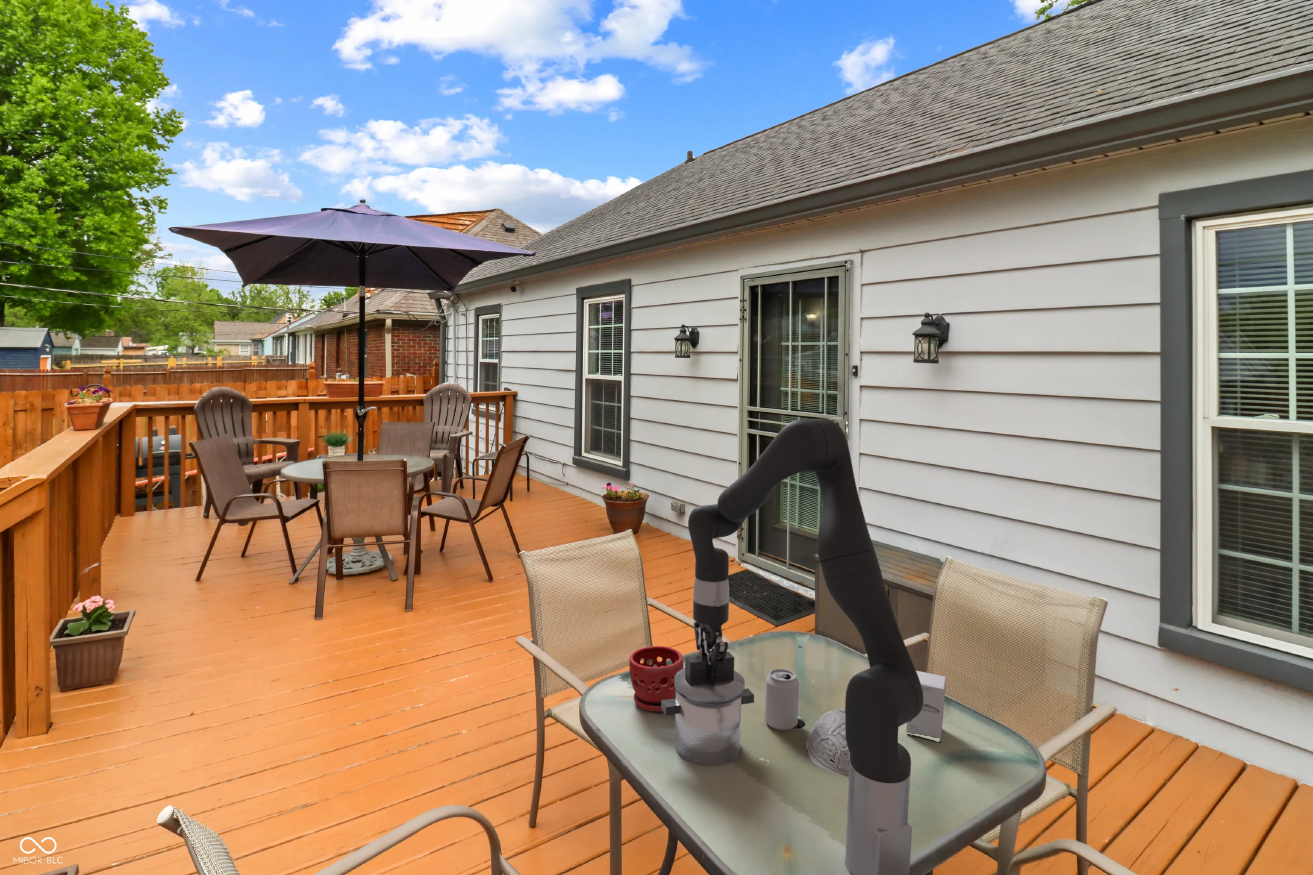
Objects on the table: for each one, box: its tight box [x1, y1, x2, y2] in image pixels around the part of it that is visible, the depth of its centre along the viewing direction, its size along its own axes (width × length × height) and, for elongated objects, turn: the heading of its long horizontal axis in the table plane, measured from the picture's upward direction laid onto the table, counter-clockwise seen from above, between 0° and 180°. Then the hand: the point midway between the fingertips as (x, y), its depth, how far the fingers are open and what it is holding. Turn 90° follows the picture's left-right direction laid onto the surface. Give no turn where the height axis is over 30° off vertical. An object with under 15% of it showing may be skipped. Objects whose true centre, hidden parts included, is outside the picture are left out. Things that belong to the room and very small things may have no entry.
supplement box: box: [905, 670, 947, 740], centre depth 145 cm, size 7×7×13 cm
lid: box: [674, 651, 746, 704], centre depth 136 cm, size 15×15×7 cm
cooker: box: [661, 688, 755, 766], centre depth 137 cm, size 14×20×12 cm
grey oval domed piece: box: [805, 708, 850, 776], centre depth 140 cm, size 16×25×7 cm, turn 163°
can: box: [764, 668, 800, 731], centre depth 147 cm, size 8×8×12 cm
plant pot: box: [628, 645, 684, 713], centre depth 156 cm, size 13×13×12 cm
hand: (709, 676), depth 136 cm, fingers closed on lid, 3 cm apart
